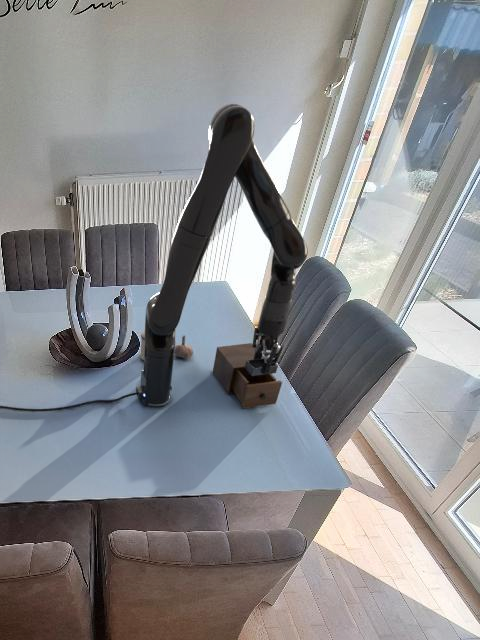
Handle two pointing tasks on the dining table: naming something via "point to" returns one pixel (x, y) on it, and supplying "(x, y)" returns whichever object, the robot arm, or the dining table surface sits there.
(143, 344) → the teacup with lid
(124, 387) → the dining table surface
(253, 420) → the dining table surface
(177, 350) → the garlic bulb
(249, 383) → the drawer
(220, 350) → the cabinet
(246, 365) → the tray
